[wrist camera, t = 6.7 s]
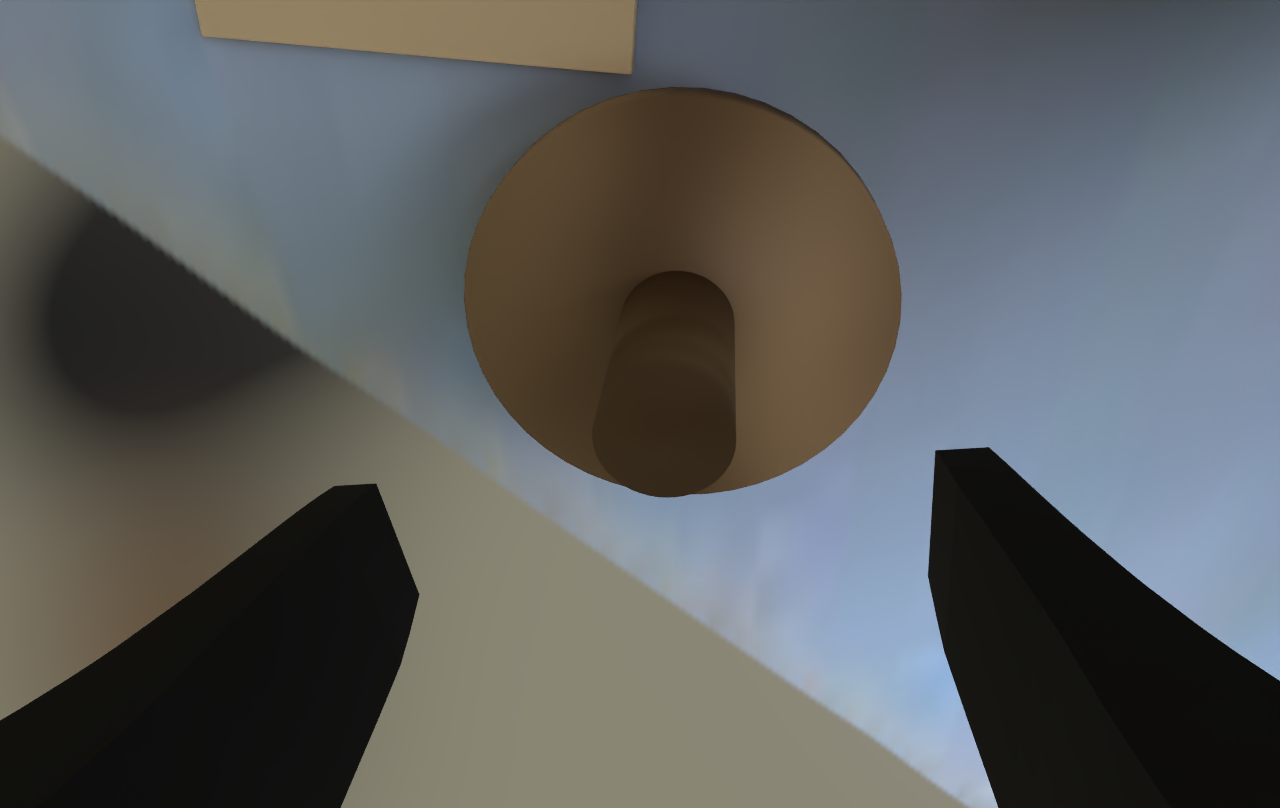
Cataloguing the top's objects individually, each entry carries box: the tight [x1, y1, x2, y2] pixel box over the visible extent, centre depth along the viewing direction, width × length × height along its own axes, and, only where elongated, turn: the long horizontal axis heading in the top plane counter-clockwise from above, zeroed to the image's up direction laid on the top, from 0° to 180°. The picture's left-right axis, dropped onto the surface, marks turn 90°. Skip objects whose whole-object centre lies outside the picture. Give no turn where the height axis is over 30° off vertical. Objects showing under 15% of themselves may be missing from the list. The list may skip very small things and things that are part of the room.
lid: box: [464, 87, 901, 497], centre depth 14 cm, size 8×8×5 cm
